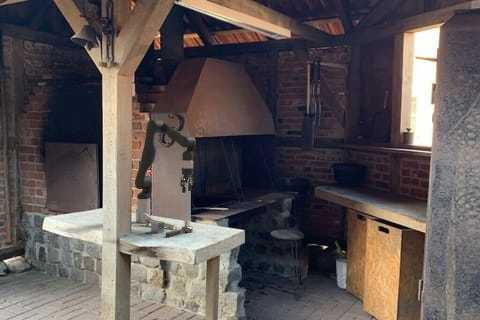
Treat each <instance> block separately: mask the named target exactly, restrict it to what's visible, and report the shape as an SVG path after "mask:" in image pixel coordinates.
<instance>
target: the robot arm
mask: <svg viewBox="0 0 480 320" xmlns="http://www.w3.org/2000/svg"><path fill="white" fill-rule="evenodd" d="M145 130H146V131H145V139H144V144H143V149H142V152H141V158H140V163H139V166H138V170H137V173H136V177H135V179H134V186H135V188H136V189H137V190H140V191H141V192H139V193H138V194H137V196H136V208H135V222H136V223H139V224H144V223H143V222H142V221H144V220H145V217H144V216H142V217H141V215H142V214H144V213H146V214H148V215H149V216H150V217H151V196H152V190H153V189H152V188H153V181H152V180H153V179H152V178H151V177H150V176H149V175H146V174H147V171H148V170H149V169H150V167H151V166H152V165H153V164H154V162H155V159H156V155H157V148H156V144H155V142H154V141H155V140H154V139H155V136H156V135H155V134H159V133H161V134H164V135H166V136H167V137H168V138H169V139H170V140H171V141H174V142H176V143H177V144H178V145H179V146H180V147H182V148H186V150H184V151H183V152H182V156H181V157H182V160H181V175H182V176H180V182H179V183H180V184H179V186H180V187H181V188H182V189H181V192H182V193H183V194H186V192H187V191H188V192H191V191H192V188H193V185H194V175H193V174H194V153H195V151H196V150H195V149H196V146H197V141H196V140H197V139H196V138H195V137H194V136H185V134H184V133H182V132H180V131H179V130H177V129H174V128H172V127H171V126H170V125H169V124H168V123H166V122H164V121H163V120H161V119H154V118H153V119H150V120H148V121H147V124H146V129H145ZM187 187H188V188H187ZM186 188H187V189H186ZM186 190H187V191H186Z"/></svg>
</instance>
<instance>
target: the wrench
mask: <svg viewBox="0 0 480 320" xmlns="http://www.w3.org/2000/svg"><path fill="white" fill-rule="evenodd" d="M142 216H144V217H145V220H144V221H142V222H143V223H142V224H143V225H146V226H147V227H149V226H150V225H151V222H155V221H161V222H164V228H167V229H170V230H173V231H175V230H178V225H177V224H173V223H169V222H165V221H162V220H158V219H154V218H153V217H152V216H151V215H150V216H149V215H148V214H146V213H144V214H142V215H141V217H142Z"/></svg>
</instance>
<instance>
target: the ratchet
mask: <svg viewBox="0 0 480 320" xmlns="http://www.w3.org/2000/svg"><path fill="white" fill-rule="evenodd" d="M193 229H194V228H193V226H192V225H191V219H190V220H189V219H185V220H184V226H182V227H181V228H180V229H176V230H171V231H168V232H167V231H166V232H165V238H166V237H167V238H173V237H177V236H178V235H179V236H180V235H183V234H190V233H193Z"/></svg>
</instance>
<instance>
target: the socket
mask: <svg viewBox="0 0 480 320" xmlns="http://www.w3.org/2000/svg"><path fill="white" fill-rule="evenodd" d="M161 221H162V220H159V221H155V222H151V224H150V232H151V233H154V234H161V233H164V232H165V227H164V222H165V221H162V222H161Z"/></svg>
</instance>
